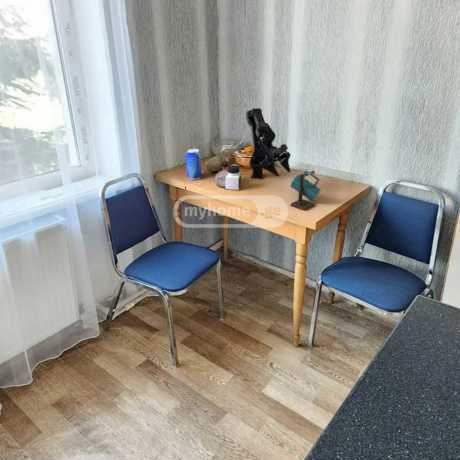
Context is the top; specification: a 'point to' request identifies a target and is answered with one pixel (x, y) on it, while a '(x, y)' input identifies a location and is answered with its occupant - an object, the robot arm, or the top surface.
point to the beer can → (193, 164)
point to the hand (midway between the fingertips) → (284, 174)
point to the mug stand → (300, 202)
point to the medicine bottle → (233, 178)
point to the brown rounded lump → (216, 163)
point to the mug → (307, 186)
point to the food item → (222, 177)
